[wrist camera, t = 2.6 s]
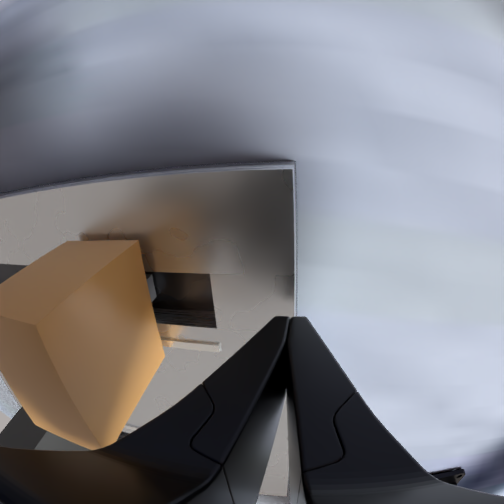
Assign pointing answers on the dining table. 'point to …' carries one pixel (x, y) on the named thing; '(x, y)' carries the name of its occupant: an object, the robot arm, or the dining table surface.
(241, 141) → the dining table surface
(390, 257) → the dining table surface
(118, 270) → the orange fader
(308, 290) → the dining table surface
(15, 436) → the black fader
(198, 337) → the panel
